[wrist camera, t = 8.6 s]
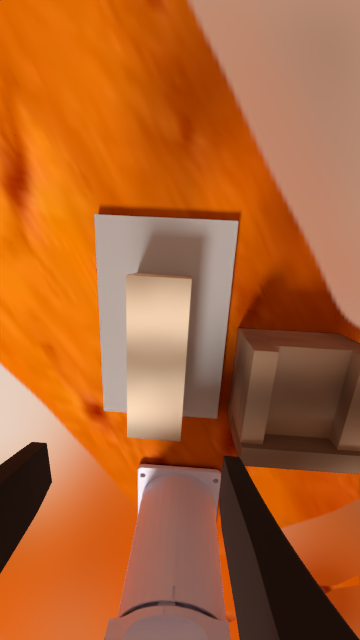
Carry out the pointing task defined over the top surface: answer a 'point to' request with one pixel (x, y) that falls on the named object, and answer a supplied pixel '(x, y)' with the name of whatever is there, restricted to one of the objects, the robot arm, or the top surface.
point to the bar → (156, 353)
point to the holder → (296, 400)
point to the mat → (205, 303)
